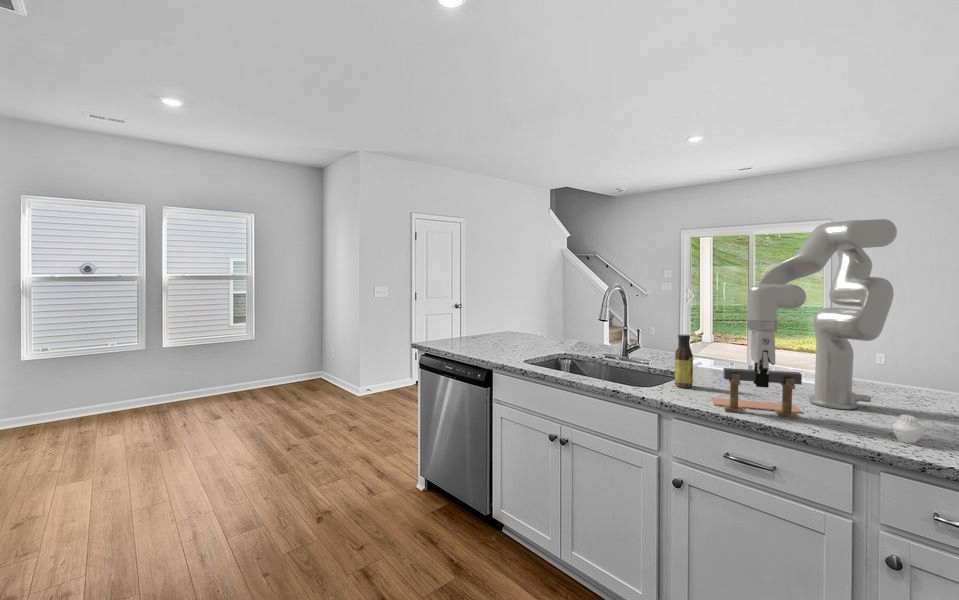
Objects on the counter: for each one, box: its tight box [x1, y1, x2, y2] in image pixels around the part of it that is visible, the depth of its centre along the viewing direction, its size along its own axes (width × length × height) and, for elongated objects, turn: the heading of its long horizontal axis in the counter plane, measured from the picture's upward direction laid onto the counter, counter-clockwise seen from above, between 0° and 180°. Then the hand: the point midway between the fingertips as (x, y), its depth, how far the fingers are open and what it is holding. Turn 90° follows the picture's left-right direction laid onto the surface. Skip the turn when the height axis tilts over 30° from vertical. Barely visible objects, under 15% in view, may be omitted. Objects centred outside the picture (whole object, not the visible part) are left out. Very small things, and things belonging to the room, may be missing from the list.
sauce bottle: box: [674, 333, 694, 389], centre depth 168 cm, size 7×6×20 cm
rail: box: [723, 367, 803, 386], centre depth 136 cm, size 20×3×3 cm, turn 68°
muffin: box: [890, 414, 925, 445], centre depth 113 cm, size 6×6×7 cm
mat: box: [711, 397, 803, 414], centre depth 144 cm, size 24×8×1 cm, turn 68°
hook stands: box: [723, 374, 799, 419], centre depth 136 cm, size 19×6×12 cm, turn 68°
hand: (760, 384), depth 136 cm, fingers closed on rail, 3 cm apart
